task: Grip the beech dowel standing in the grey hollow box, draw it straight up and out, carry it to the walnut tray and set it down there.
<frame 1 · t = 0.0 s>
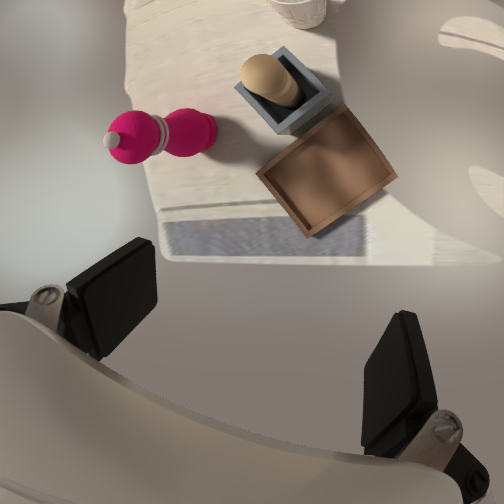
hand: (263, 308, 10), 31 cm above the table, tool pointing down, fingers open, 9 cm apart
white cup: (303, 12, 27), on the table
dowel: (292, 97, 32), point 1 cm above the table, touching grey hollow box
pepper mill: (200, 131, 39), on the table
tray: (327, 171, 36), on the table
grey hollow box: (293, 98, 33), on the table
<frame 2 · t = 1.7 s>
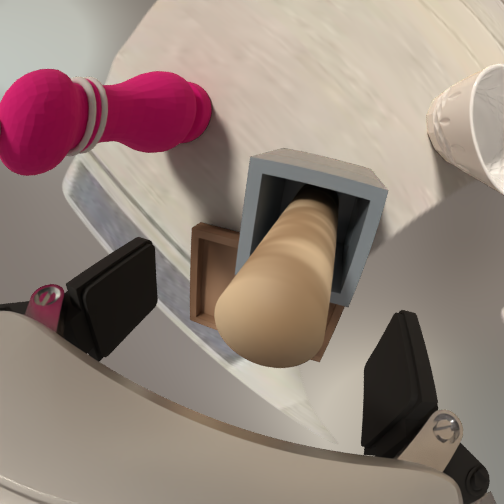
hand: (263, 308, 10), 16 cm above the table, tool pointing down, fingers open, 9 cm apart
white cup: (457, 128, 16), on the table
dowel: (317, 202, 22), point 1 cm above the table, touching grey hollow box
pepper mill: (184, 112, 23), on the table
tray: (265, 292, 29), on the table
grey hollow box: (318, 199, 23), on the table
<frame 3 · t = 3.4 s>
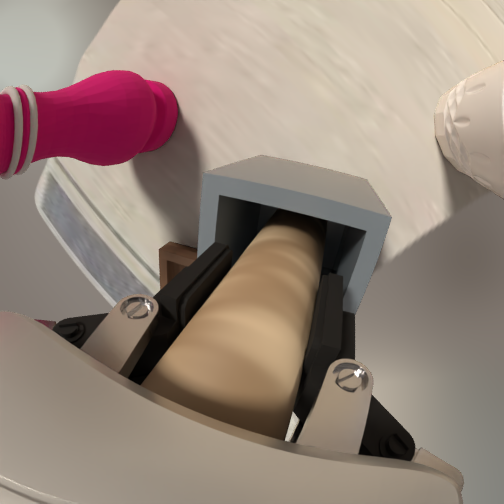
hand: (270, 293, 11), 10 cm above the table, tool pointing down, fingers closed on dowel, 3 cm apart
white cup: (470, 130, 13), on the table
dowel: (301, 220, 19), point 1 cm above the table, touching grey hollow box, gripper
pepper mill: (149, 116, 20), on the table
tray: (244, 319, 25), on the table
grey hollow box: (303, 216, 19), on the table
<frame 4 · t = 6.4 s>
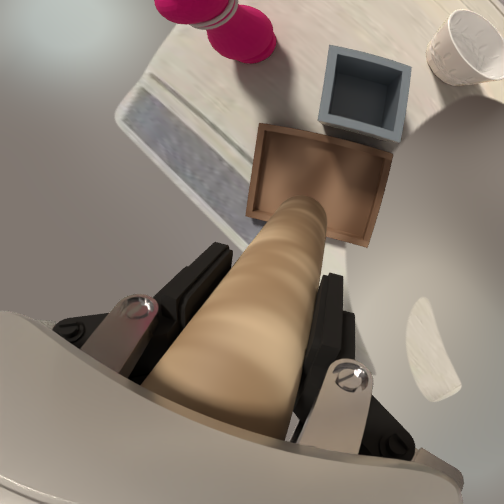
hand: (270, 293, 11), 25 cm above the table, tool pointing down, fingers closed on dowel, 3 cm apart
white cup: (447, 62, 20), on the table
dowel: (301, 220, 19), point 16 cm above the table, touching gripper
pepper mill: (252, 43, 27), on the table
tray: (317, 182, 32), on the table
grey hollow box: (358, 102, 26), on the table
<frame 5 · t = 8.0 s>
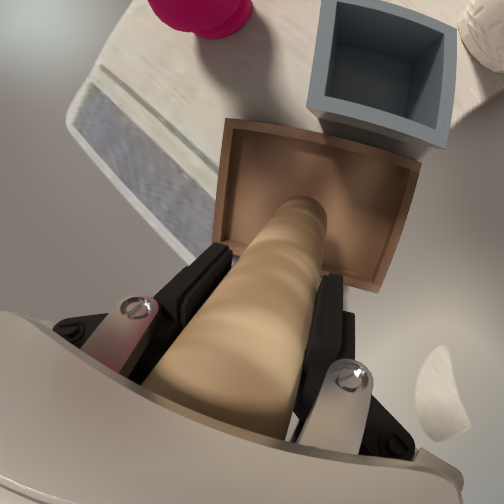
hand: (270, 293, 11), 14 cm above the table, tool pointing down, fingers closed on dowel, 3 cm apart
white cup: (485, 41, 11), on the table
dowel: (301, 220, 19), point 5 cm above the table, touching gripper
pepper mill: (220, 13, 17), on the table
tray: (311, 201, 23), on the table
grey hollow box: (370, 87, 17), on the table
when the fingers open (11 cm above the table, at t = 9.5 s): dowel stays where it is, resting on tray.
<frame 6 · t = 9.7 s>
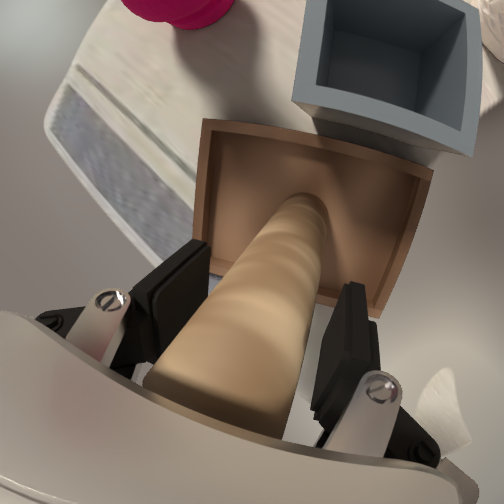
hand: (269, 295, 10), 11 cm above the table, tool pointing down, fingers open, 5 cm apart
white cup: (499, 33, 8), on the table
dowel: (303, 216, 19), point 1 cm above the table, touching tray
pepper mill: (201, 2, 14), on the table
tray: (303, 214, 20), on the table
grey hollow box: (372, 80, 14), on the table
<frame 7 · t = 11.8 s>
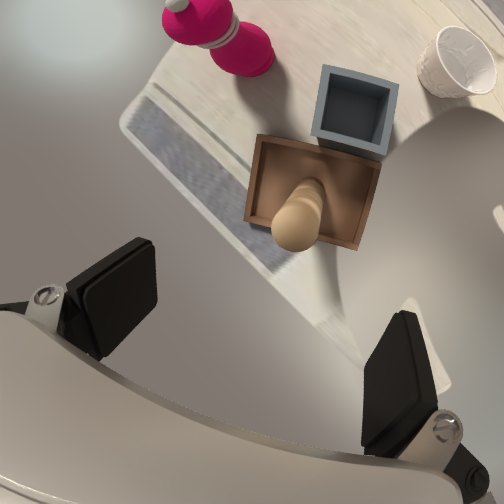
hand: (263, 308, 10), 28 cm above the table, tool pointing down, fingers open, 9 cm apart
white cup: (437, 75, 23), on the table
dowel: (311, 190, 34), point 1 cm above the table, touching tray
pepper mill: (252, 57, 29), on the table
tray: (311, 189, 35), on the table
grey hollow box: (350, 115, 29), on the table
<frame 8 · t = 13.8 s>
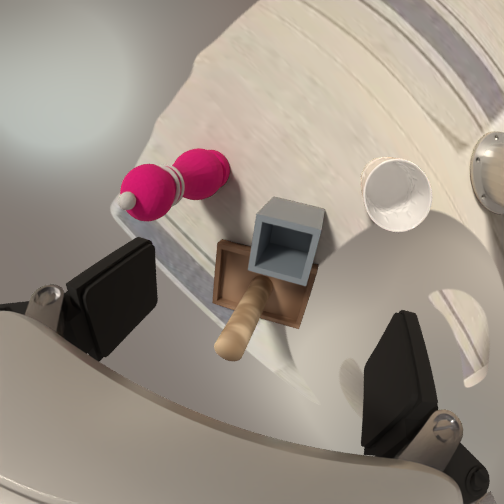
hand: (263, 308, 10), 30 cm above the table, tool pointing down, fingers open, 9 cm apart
white cup: (383, 180, 33), on the table
dowel: (262, 284, 45), point 1 cm above the table, touching tray
pepper mill: (211, 169, 40), on the table
tray: (262, 283, 46), on the table
grey hollow box: (294, 226, 40), on the table
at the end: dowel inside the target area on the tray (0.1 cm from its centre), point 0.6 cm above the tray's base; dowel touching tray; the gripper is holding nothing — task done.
